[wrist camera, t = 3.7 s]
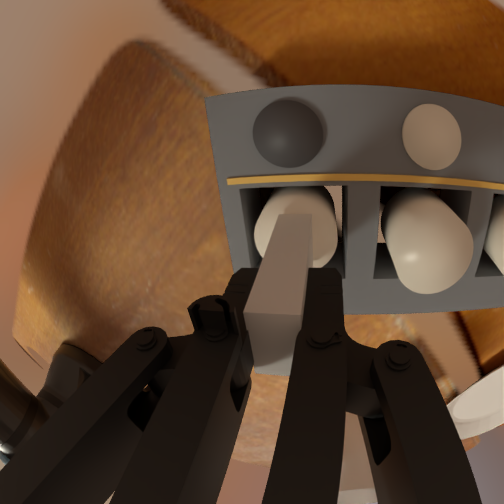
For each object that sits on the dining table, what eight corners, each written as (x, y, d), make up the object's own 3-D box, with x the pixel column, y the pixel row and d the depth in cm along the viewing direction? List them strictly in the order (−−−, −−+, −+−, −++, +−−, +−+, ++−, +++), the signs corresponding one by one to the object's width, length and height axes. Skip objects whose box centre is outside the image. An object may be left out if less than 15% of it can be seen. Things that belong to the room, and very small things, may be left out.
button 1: (270, 239, 18) (259, 273, 15) (264, 178, 16) (249, 200, 13) (334, 239, 17) (336, 274, 14) (333, 176, 15) (337, 198, 12)
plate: (479, 429, 28) (481, 440, 26) (396, 423, 28) (397, 437, 26) (569, 349, 16) (574, 360, 14) (517, 315, 17) (525, 331, 15)
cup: (353, 351, 22) (350, 484, 12) (426, 372, 22) (440, 482, 12) (309, 397, 27) (292, 500, 17) (375, 413, 27) (373, 505, 17)
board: (255, 273, 20) (240, 313, 17) (230, 97, 15) (202, 97, 11) (502, 272, 15) (525, 306, 12) (528, 117, 10) (566, 129, 6)
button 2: (377, 253, 15) (389, 295, 12) (382, 185, 13) (401, 213, 10) (439, 253, 14) (461, 292, 11) (449, 188, 12) (481, 216, 9)
